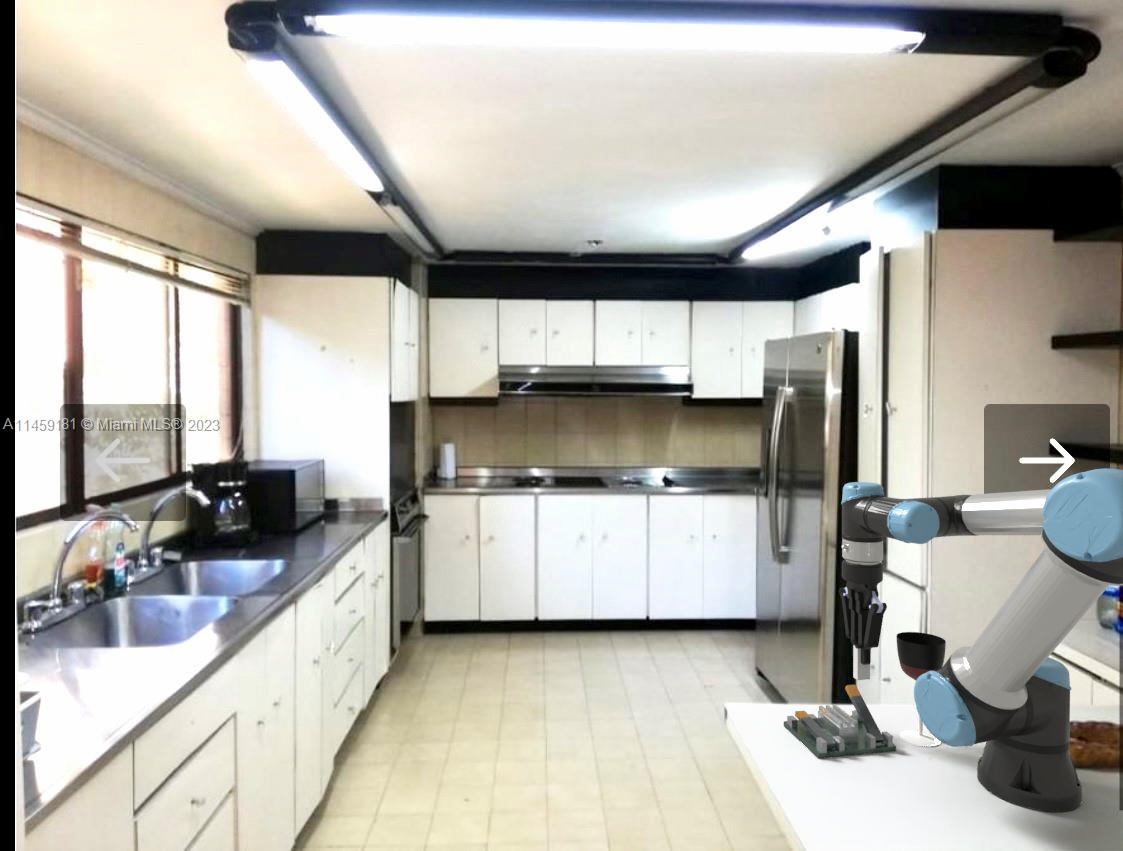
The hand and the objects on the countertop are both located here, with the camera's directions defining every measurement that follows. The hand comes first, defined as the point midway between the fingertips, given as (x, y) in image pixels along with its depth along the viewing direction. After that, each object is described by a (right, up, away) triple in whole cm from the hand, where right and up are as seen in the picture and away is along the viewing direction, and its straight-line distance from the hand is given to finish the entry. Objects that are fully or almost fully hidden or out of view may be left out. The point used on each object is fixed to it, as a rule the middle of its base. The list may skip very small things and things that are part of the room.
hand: (861, 678), depth 143 cm
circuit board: (-5, -12, 0) cm, 13 cm away
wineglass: (+11, -12, -1) cm, 17 cm away
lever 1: (-10, -10, -1) cm, 14 cm away
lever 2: (0, -7, 0) cm, 7 cm away
